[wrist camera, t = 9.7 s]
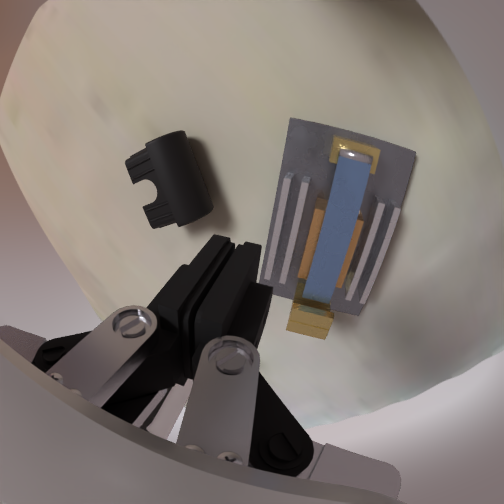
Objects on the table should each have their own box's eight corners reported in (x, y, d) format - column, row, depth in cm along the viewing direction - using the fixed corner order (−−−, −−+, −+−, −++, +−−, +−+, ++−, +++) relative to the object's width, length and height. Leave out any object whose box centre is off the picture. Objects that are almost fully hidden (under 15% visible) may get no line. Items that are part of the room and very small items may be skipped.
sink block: (291, 117, 29) (278, 117, 22) (412, 150, 27) (441, 163, 19) (260, 284, 40) (241, 327, 32) (358, 309, 38) (360, 357, 30)
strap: (340, 146, 24) (341, 147, 23) (372, 155, 24) (373, 156, 23) (302, 292, 31) (301, 297, 30) (329, 299, 31) (329, 304, 30)
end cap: (223, 202, 36) (201, 220, 30) (177, 216, 39) (151, 236, 33) (195, 127, 33) (167, 132, 27) (150, 148, 35) (119, 157, 29)
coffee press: (169, 301, 46) (57, 449, 20) (230, 366, 49) (162, 516, 23) (121, 331, 54) (33, 438, 28) (173, 383, 57) (108, 494, 31)
